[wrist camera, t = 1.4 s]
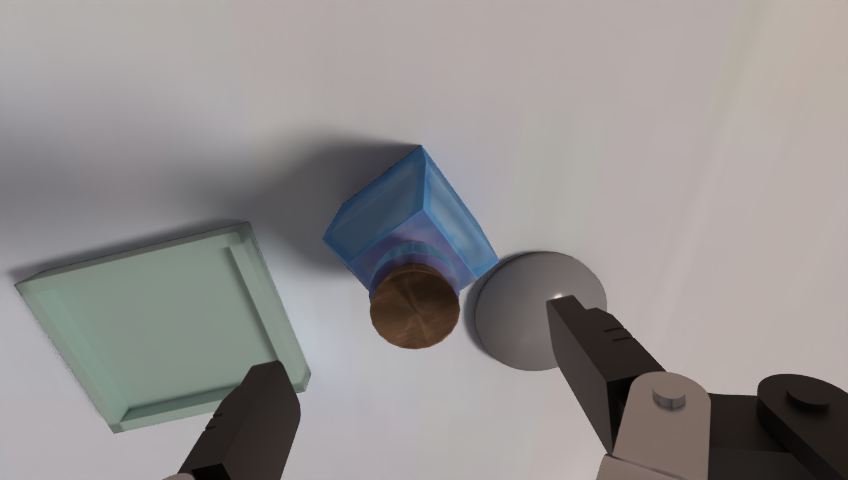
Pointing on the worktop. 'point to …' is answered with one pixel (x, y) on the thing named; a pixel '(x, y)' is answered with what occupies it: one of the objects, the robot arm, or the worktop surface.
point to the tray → (167, 325)
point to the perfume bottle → (411, 250)
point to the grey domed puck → (531, 306)
